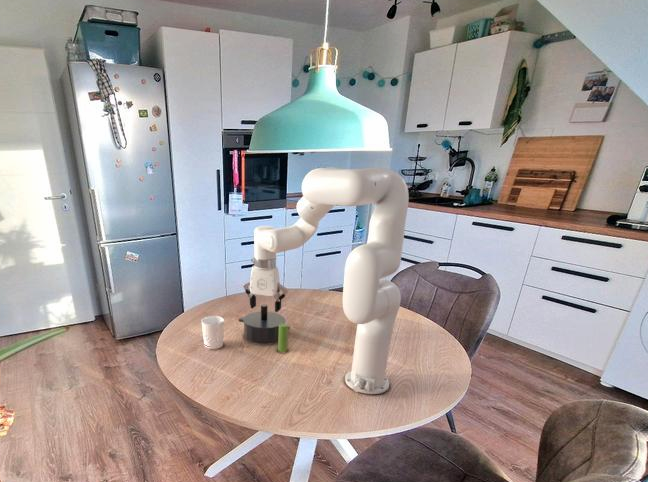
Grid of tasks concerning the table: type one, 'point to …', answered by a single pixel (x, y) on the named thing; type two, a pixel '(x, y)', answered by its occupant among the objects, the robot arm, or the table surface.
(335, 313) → the table surface
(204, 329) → the white cup
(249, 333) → the pot
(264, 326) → the pot lid
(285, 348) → the green cylinder
